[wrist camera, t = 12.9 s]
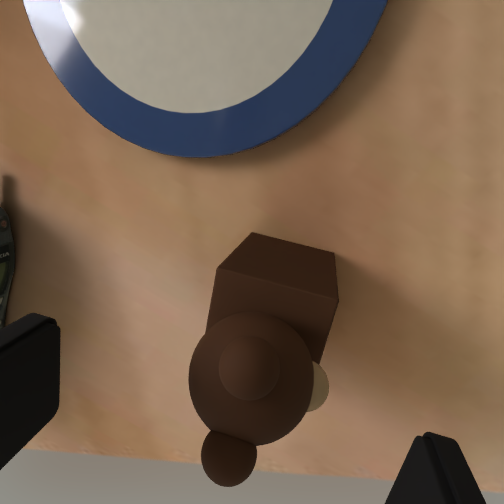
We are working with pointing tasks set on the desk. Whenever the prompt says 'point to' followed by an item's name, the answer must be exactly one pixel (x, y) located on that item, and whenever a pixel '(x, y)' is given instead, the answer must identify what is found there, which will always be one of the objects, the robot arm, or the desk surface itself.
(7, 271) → the mobile phone
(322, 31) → the plate
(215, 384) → the toy bear
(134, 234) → the desk surface
